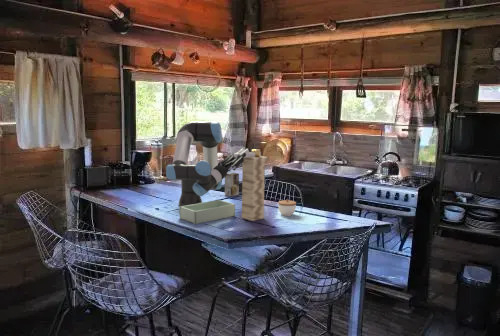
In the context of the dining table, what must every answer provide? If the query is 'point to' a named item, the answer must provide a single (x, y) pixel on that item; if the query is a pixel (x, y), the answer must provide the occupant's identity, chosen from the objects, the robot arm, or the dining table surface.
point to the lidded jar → (287, 207)
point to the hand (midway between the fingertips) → (245, 150)
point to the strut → (250, 154)
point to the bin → (207, 211)
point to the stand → (253, 188)
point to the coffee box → (232, 184)
